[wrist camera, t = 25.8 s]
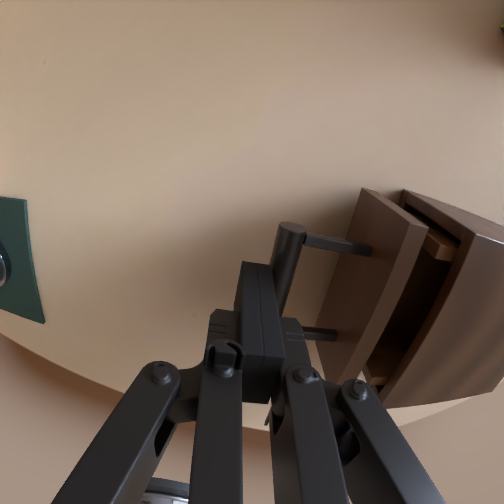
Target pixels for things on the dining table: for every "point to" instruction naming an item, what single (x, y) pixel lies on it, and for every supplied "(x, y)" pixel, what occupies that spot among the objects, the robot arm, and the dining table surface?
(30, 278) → the mat
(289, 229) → the drawer
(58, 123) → the dining table surface
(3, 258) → the silver cylinder
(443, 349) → the cabinet
